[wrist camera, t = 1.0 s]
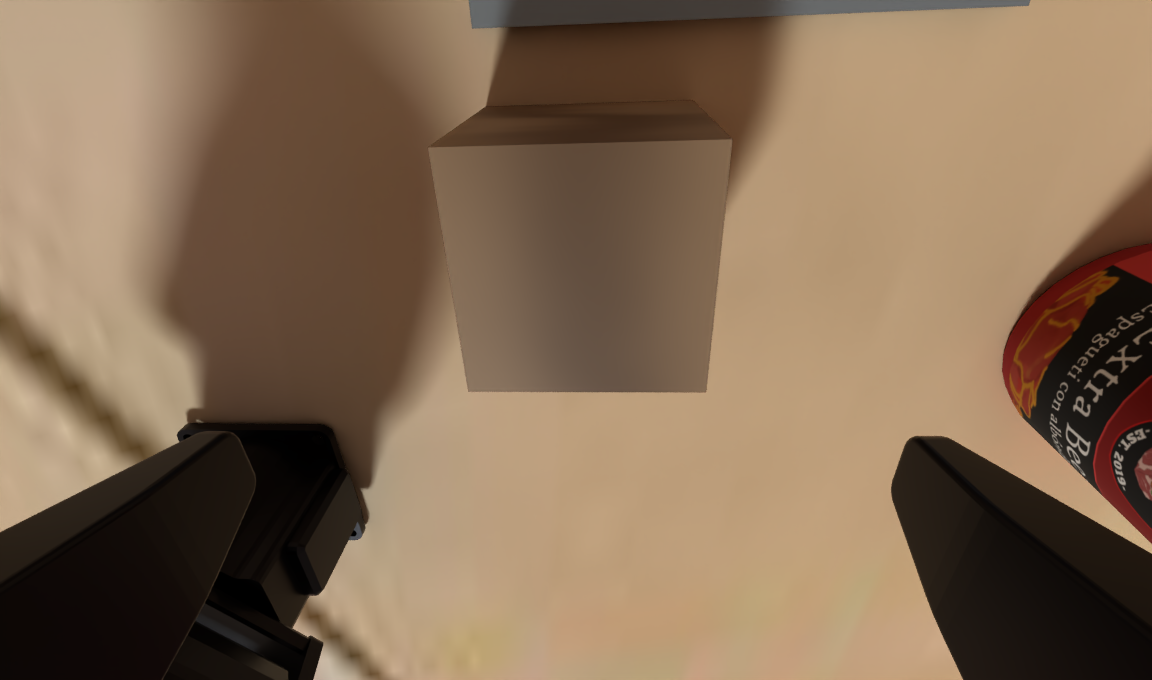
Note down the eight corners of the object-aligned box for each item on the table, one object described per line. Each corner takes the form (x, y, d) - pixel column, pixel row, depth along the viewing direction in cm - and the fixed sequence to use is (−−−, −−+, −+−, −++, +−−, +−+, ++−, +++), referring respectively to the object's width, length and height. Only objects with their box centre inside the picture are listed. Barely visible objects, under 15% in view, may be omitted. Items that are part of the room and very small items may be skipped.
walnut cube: (506, 290, 19) (468, 391, 14) (486, 106, 16) (427, 147, 11) (679, 289, 19) (705, 392, 14) (692, 99, 16) (733, 138, 11)
